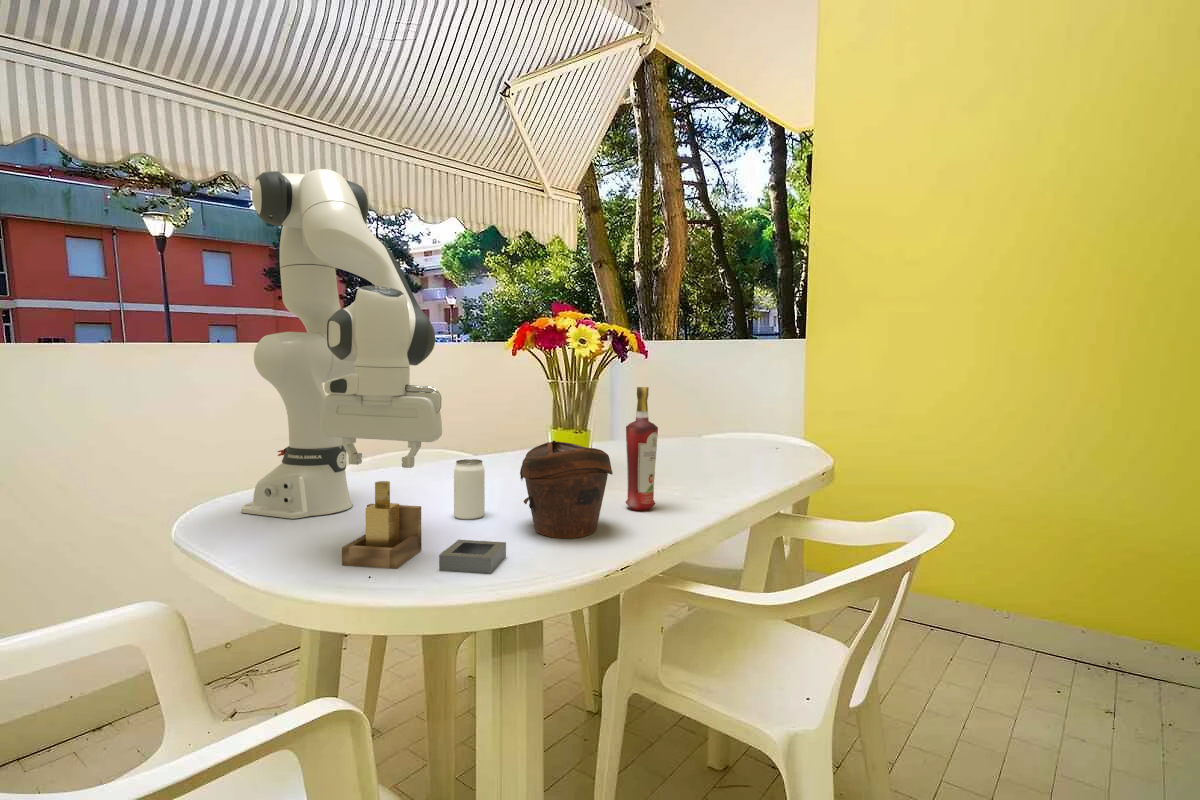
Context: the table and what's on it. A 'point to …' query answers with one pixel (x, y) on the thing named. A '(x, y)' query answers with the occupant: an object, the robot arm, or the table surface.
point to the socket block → (472, 556)
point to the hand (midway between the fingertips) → (381, 465)
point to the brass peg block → (382, 519)
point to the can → (469, 489)
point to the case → (565, 488)
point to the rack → (384, 556)
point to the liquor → (641, 456)
